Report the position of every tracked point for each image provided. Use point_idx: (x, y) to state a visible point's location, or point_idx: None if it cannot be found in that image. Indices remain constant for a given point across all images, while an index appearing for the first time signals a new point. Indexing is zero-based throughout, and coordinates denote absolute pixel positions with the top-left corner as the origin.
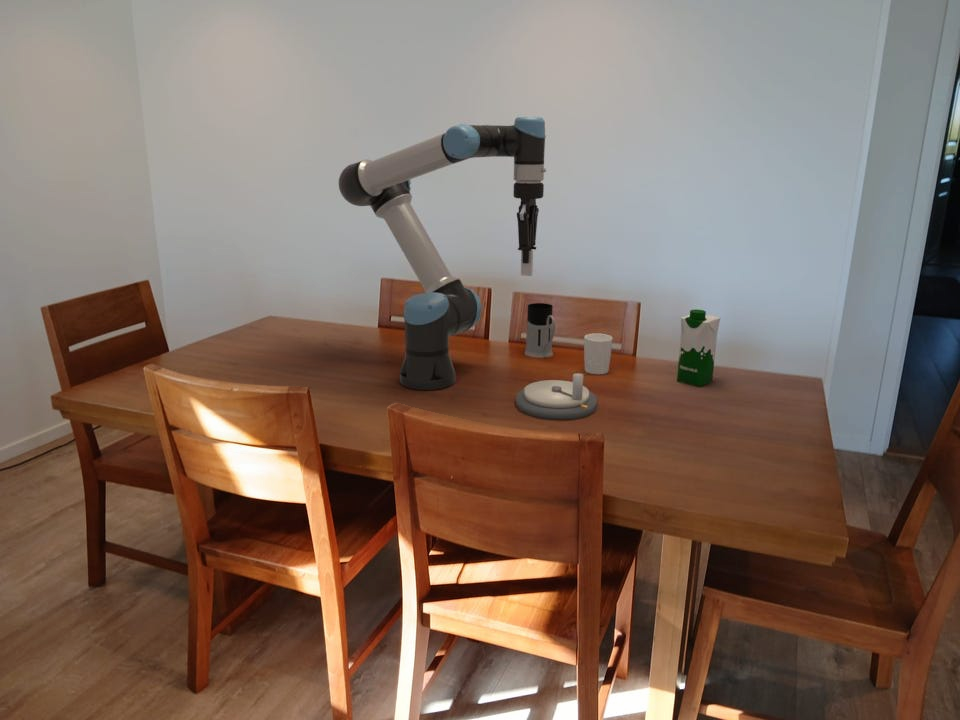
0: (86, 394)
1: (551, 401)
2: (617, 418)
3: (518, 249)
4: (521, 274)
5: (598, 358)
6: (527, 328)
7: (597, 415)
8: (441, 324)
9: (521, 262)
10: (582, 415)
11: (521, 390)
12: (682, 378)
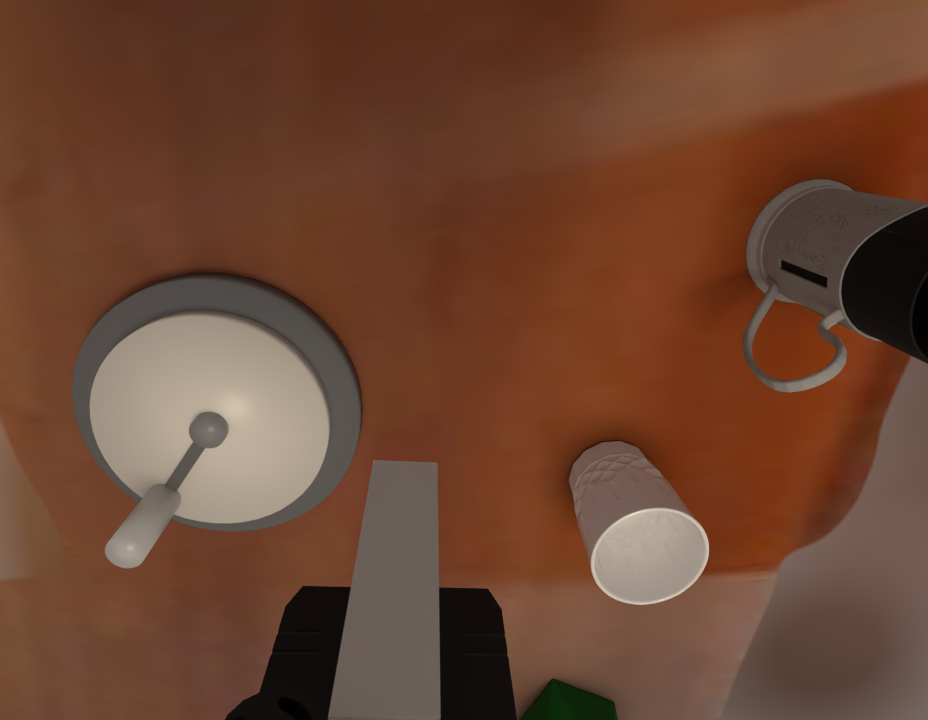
0: None
1: (96, 429)
2: (190, 572)
3: (239, 713)
4: (372, 472)
5: (577, 520)
6: (868, 211)
7: None
8: None
9: (357, 561)
10: None
11: (237, 289)
12: (543, 701)
